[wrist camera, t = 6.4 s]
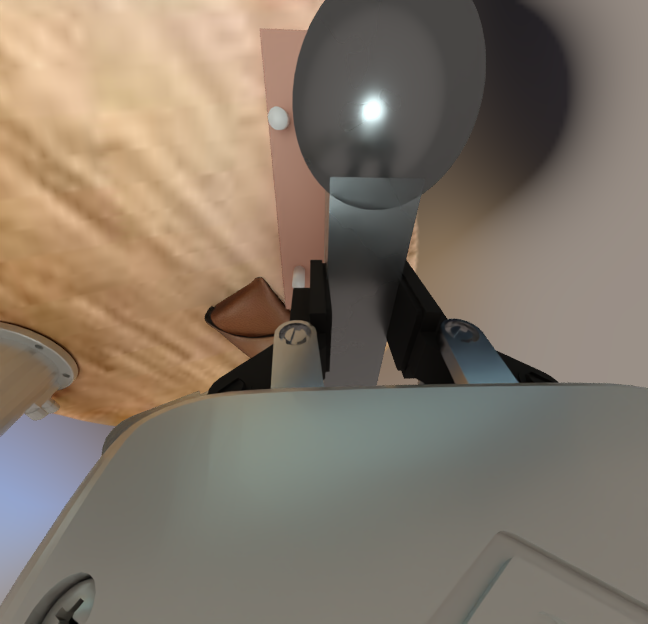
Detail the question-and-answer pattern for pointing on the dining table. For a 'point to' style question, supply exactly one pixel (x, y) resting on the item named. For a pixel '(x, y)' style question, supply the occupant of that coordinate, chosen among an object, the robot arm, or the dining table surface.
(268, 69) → the peg rack
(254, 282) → the sunglasses case
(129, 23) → the dining table surface
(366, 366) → the grey spoon
